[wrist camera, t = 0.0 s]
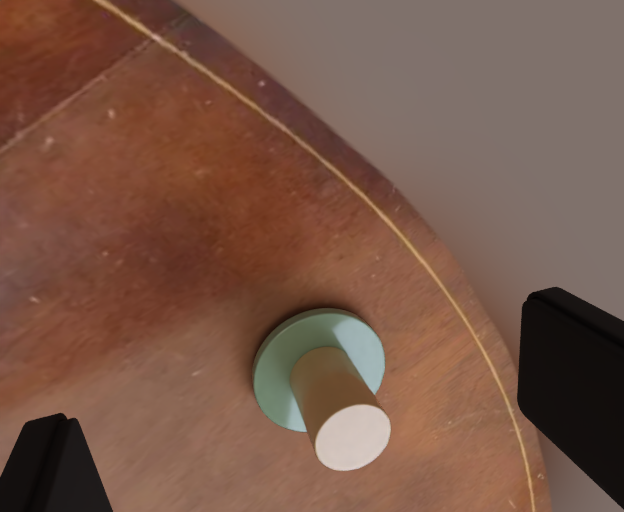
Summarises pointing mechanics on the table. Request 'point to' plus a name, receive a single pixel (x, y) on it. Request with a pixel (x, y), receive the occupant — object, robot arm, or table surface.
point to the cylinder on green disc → (325, 385)
